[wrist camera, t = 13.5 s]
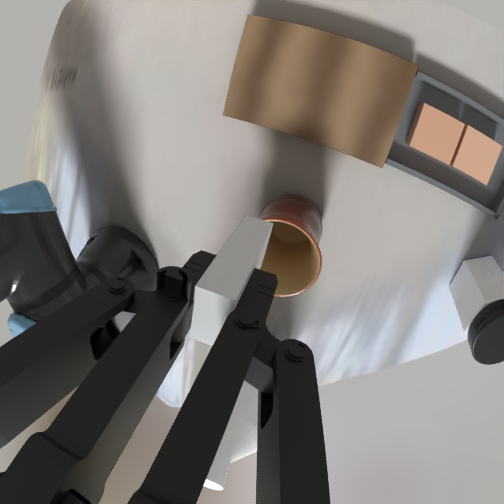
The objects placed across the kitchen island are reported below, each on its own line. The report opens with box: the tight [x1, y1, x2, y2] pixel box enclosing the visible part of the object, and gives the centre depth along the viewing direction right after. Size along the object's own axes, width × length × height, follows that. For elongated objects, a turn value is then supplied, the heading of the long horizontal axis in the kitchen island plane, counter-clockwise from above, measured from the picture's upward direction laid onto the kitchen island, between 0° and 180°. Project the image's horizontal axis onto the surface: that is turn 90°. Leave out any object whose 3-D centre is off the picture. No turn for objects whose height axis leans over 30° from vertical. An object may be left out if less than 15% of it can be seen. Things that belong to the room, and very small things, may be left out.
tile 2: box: [405, 102, 465, 165], centre depth 27 cm, size 5×5×2 cm
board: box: [223, 15, 418, 168], centre depth 29 cm, size 18×12×3 cm, turn 77°
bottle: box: [203, 380, 258, 490], centre depth 43 cm, size 12×12×25 cm
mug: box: [259, 195, 322, 297], centre depth 36 cm, size 12×9×10 cm
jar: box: [449, 256, 504, 365], centre depth 30 cm, size 9×8×12 cm
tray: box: [385, 71, 504, 219], centre depth 27 cm, size 16×11×2 cm
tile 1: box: [450, 124, 502, 185], centre depth 27 cm, size 5×5×2 cm
